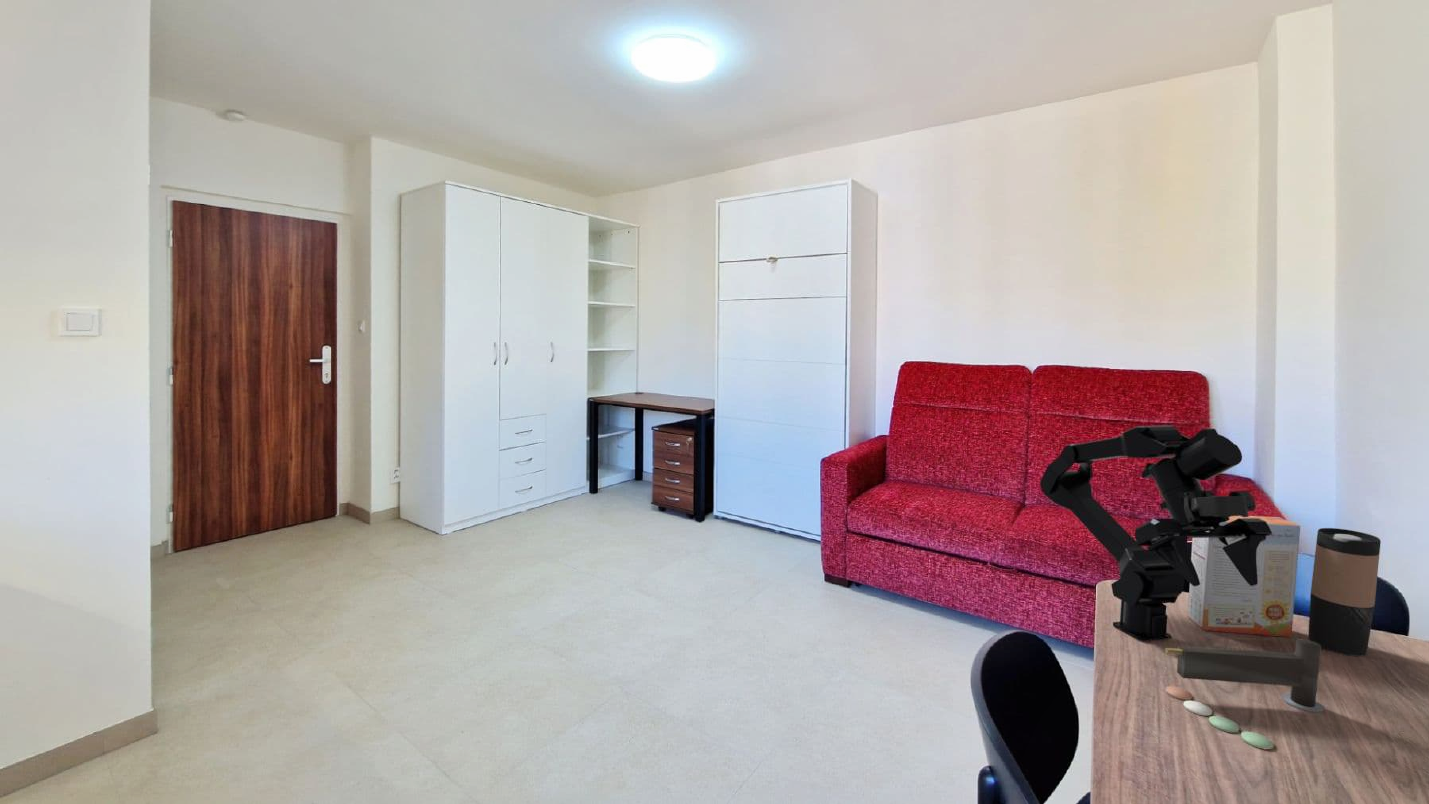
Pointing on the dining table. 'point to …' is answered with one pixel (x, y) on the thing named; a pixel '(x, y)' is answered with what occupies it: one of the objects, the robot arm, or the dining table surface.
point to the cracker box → (1232, 599)
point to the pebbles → (1227, 724)
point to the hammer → (1256, 667)
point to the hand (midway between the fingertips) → (1225, 585)
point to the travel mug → (1343, 590)
